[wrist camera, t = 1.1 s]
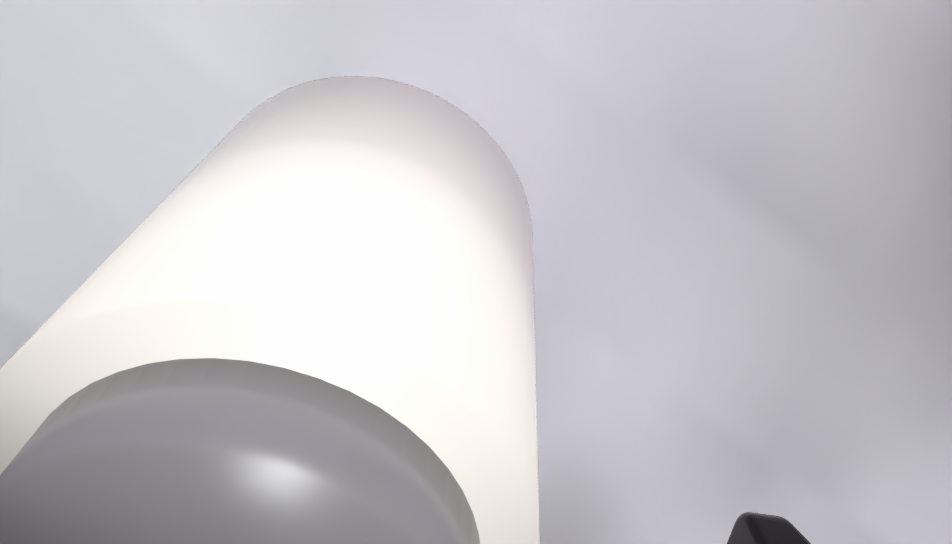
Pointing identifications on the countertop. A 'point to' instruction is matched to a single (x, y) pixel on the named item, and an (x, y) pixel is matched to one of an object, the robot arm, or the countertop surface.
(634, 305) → the countertop surface
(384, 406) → the white rounded cylinder
